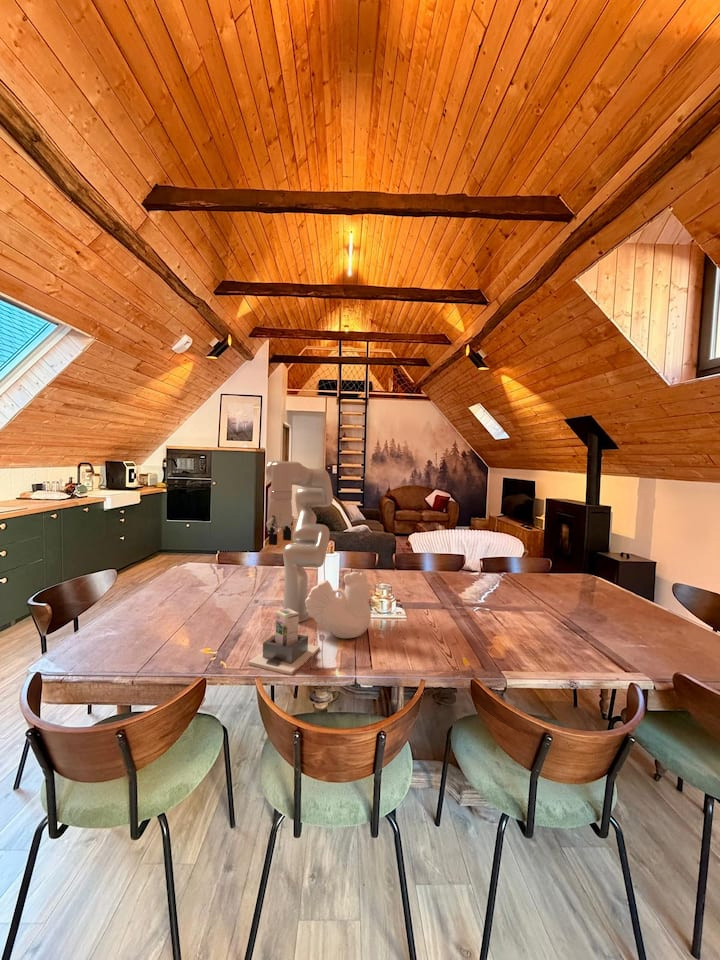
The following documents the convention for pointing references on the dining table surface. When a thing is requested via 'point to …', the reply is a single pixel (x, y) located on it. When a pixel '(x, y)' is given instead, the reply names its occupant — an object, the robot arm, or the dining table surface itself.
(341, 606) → the decorative rooster
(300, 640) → the pocket stand
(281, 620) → the syrup box
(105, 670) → the dining table surface
